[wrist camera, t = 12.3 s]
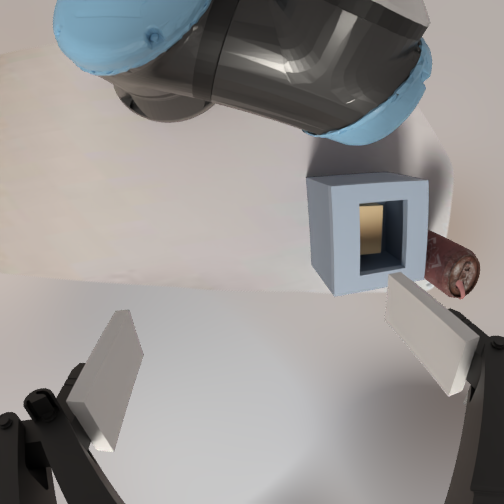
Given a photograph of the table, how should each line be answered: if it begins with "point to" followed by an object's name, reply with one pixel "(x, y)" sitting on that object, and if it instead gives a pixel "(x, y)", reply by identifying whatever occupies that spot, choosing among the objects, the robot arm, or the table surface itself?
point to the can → (450, 266)
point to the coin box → (348, 229)
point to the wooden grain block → (370, 227)
